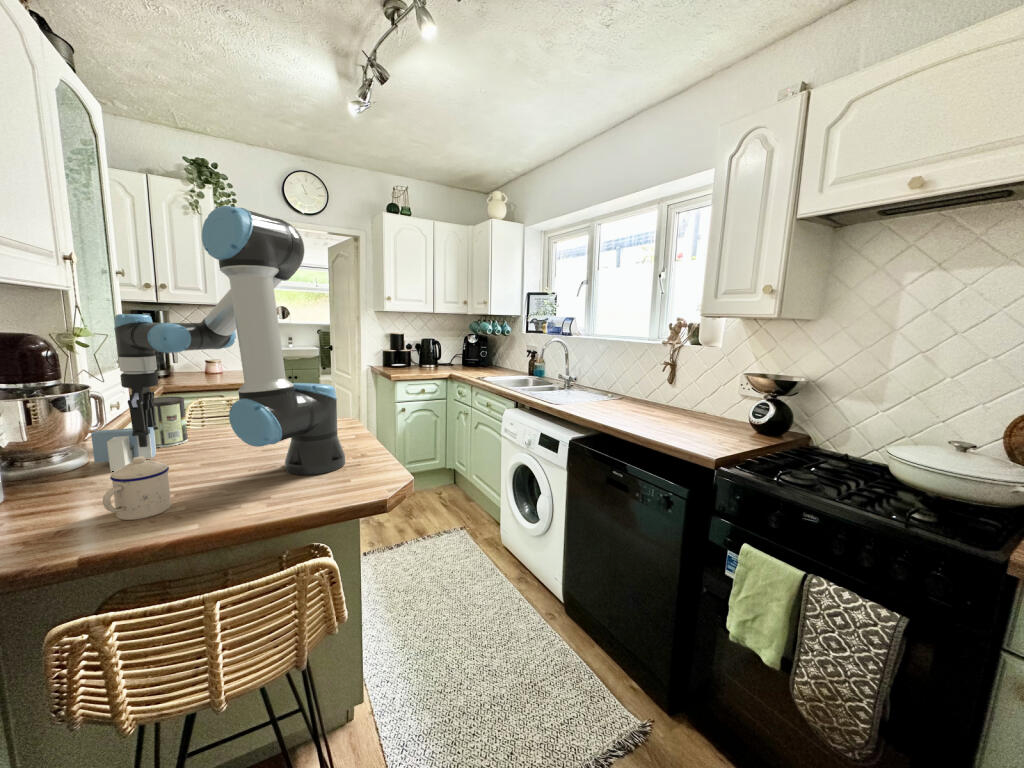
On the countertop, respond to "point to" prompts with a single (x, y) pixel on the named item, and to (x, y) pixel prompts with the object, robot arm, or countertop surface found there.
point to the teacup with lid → (139, 490)
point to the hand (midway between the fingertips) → (147, 455)
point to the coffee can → (170, 421)
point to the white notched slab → (120, 452)
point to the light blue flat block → (104, 436)
